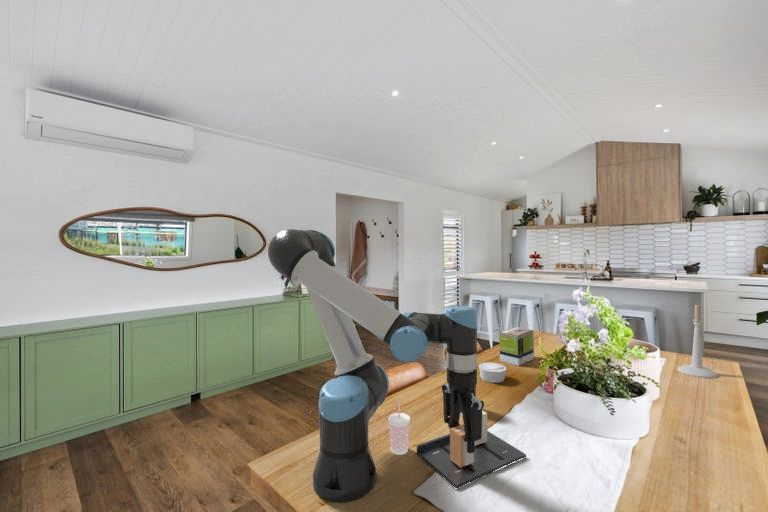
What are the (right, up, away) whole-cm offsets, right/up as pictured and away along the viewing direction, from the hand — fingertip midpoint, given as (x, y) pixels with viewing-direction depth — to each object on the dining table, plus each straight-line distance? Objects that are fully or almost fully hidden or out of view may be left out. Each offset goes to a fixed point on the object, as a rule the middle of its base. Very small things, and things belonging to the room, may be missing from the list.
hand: (461, 458), depth 90 cm
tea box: (+45, +1, +82) cm, 93 cm away
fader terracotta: (0, -1, 0) cm, 1 cm away
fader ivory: (+6, 0, +9) cm, 11 cm away
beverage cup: (-16, -2, +8) cm, 18 cm away
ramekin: (+26, 0, +58) cm, 64 cm away
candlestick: (+116, +1, +63) cm, 132 cm away
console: (+3, -2, +4) cm, 6 cm away
